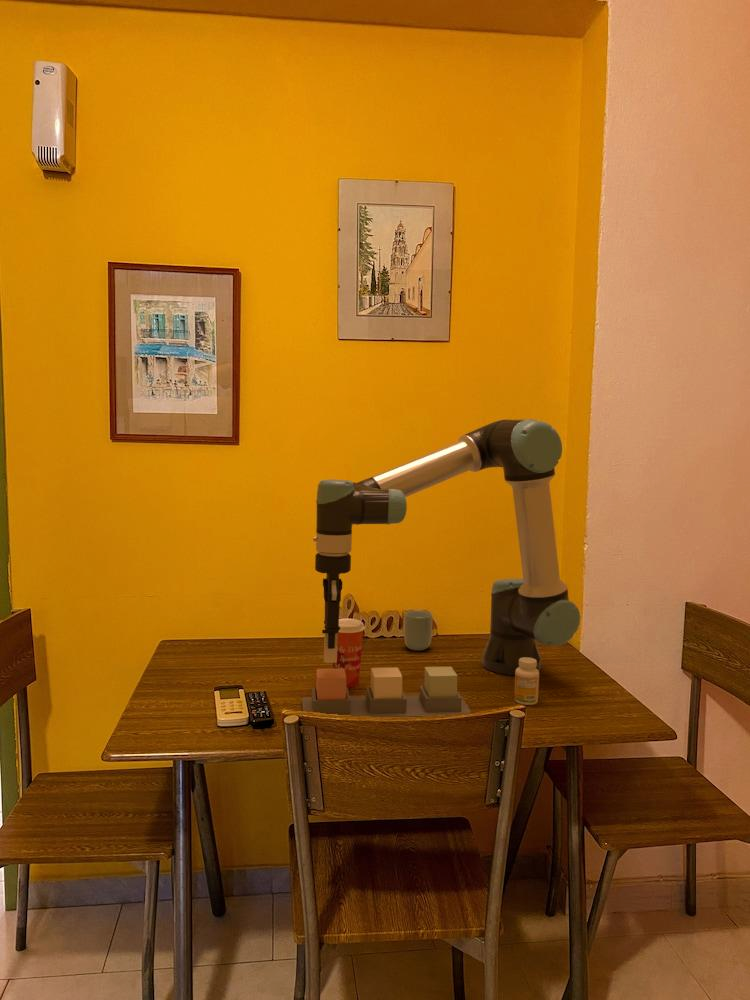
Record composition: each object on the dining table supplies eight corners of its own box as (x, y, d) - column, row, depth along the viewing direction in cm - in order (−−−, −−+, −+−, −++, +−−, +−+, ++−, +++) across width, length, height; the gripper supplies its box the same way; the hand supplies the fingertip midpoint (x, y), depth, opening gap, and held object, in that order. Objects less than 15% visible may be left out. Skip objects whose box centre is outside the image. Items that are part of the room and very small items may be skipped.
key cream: (397, 689, 165) (398, 667, 165) (401, 699, 159) (402, 676, 159) (370, 689, 165) (371, 667, 164) (373, 700, 159) (374, 677, 158)
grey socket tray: (459, 699, 170) (460, 681, 170) (472, 720, 159) (473, 701, 158) (302, 702, 166) (302, 684, 166) (303, 724, 154) (303, 705, 154)
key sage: (450, 688, 167) (451, 666, 166) (456, 698, 161) (457, 675, 160) (424, 688, 166) (424, 666, 166) (429, 698, 160) (429, 676, 160)
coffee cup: (333, 690, 174) (334, 627, 173) (326, 678, 182) (327, 618, 181) (367, 687, 176) (369, 626, 175) (359, 676, 184) (360, 616, 183)
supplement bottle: (521, 694, 174) (522, 654, 173) (542, 700, 171) (544, 659, 170) (509, 701, 170) (511, 660, 169) (531, 707, 167) (533, 665, 166)
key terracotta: (343, 690, 164) (344, 668, 163) (345, 700, 158) (346, 677, 157) (316, 691, 163) (316, 668, 163) (317, 701, 157) (317, 678, 157)
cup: (400, 651, 205) (401, 615, 204) (407, 643, 212) (408, 609, 211) (428, 654, 203) (429, 618, 202) (434, 646, 210) (435, 611, 209)
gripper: (314, 547, 163) (311, 652, 166) (316, 558, 150) (313, 671, 153) (348, 547, 164) (345, 652, 166) (353, 558, 151) (350, 671, 154)
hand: (330, 661), depth 160 cm, fingers closed
